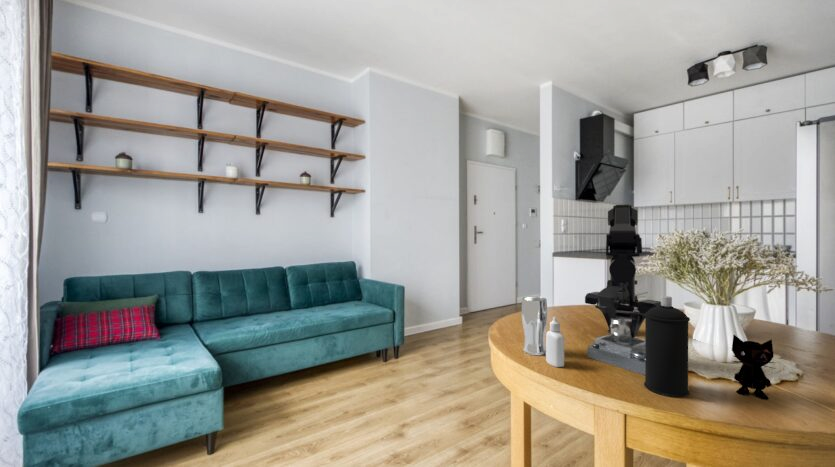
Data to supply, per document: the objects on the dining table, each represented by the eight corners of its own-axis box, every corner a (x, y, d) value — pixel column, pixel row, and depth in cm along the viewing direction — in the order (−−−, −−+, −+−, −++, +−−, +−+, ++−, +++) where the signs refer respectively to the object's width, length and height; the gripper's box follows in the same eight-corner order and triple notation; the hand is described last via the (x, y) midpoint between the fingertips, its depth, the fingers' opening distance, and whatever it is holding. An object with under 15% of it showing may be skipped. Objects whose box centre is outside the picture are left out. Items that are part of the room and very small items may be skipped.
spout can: (617, 335, 105) (617, 315, 105) (638, 340, 100) (638, 319, 100) (600, 340, 101) (600, 320, 100) (621, 346, 96) (621, 324, 96)
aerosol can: (691, 401, 76) (691, 301, 75) (643, 392, 80) (643, 298, 80) (688, 386, 83) (688, 295, 82) (644, 378, 87) (644, 292, 87)
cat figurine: (729, 394, 78) (730, 337, 78) (729, 384, 84) (730, 330, 83) (776, 404, 74) (777, 343, 73) (773, 392, 79) (773, 335, 79)
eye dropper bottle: (563, 360, 99) (563, 315, 99) (564, 368, 94) (564, 320, 93) (545, 359, 100) (545, 314, 100) (545, 366, 95) (545, 319, 95)
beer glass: (544, 348, 109) (544, 296, 109) (550, 356, 102) (550, 301, 102) (519, 347, 110) (519, 296, 110) (524, 355, 103) (523, 301, 103)
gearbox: (616, 347, 109) (616, 332, 109) (678, 364, 95) (678, 346, 95) (587, 357, 101) (587, 340, 101) (650, 377, 88) (650, 357, 88)
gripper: (572, 275, 104) (573, 331, 105) (643, 283, 89) (643, 349, 89) (596, 272, 110) (596, 325, 111) (666, 279, 95) (666, 341, 95)
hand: (622, 334), depth 101 cm, fingers closed on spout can, 5 cm apart
